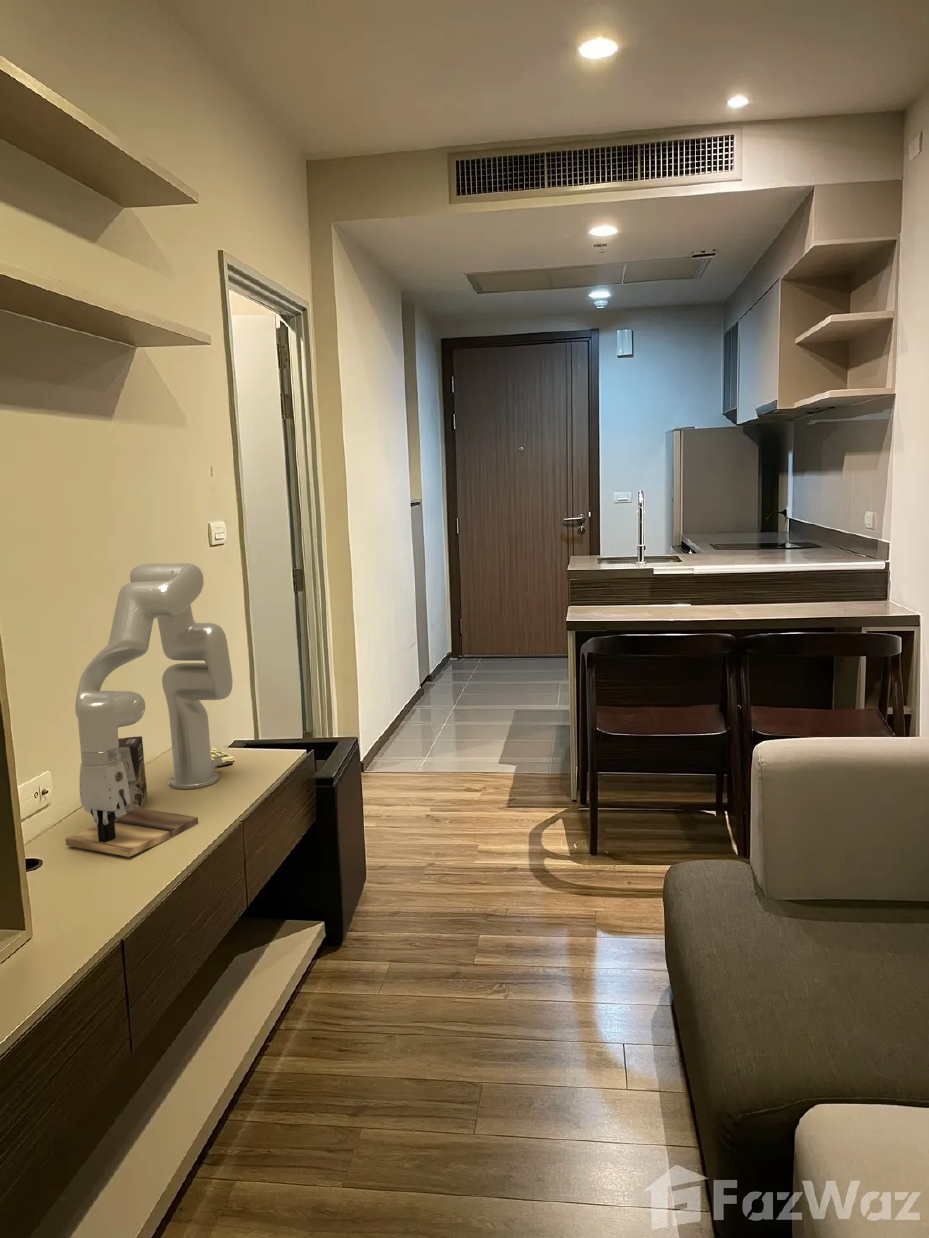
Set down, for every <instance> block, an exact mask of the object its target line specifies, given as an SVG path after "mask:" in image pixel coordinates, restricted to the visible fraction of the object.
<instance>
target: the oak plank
mask: <svg viewBox="0 0 929 1238" xmlns="http://www.w3.org/2000/svg"><path fill="white" fill-rule="evenodd" d="M115 835H116V837H115V839H113V840H110V841H108V842H105V843H104V842H99V841H98V828H97V825H96V826H93V827H90V828H88V829H86V830H83V831H81V832H78V833H76V834H73V835H69V836H67V837H65V839H64V840H65V846H69V847H73V848H78V849H85V850H89V851H95V852H102V853H106V854H111V855H117V856H122V857H123V856H124V857H128V858H130V857H132V856H134V855H137V854H138V853H141V852H144V851H146V850H147V849H150V848H152V847H154V846H156V845H158V844H161V843H163V842H165V841H168V840H170V839H171V837H170V832H169V831H163V830H157V829H151V828H145V827H138V826H132V825H126V824H120V823H115Z"/></svg>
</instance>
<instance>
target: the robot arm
mask: <svg viewBox="0 0 929 1238" xmlns="http://www.w3.org/2000/svg"><path fill="white" fill-rule="evenodd" d="M129 579H130V580H129V581H130V582H129V583H126V584H124V585H122V587H121V588H120V590H119V592H118V595H117V600H116V605H115V609H114V614H113V619H112V624H111V629H110V633H109V640H108V643H107V644H106V646H104V648H103V649H101V650H100V651H99V652H98V653H97V654H96V655H95V656H94V657H93V658H92V660H91V661H90V662H89V664H88V665H87V666H86V667H85V669H84V671H82V674H81V677H80V680H79V683H78V687H77V692H76V697H75V706H74V707H75V708H74V709H75V714H76V718H77V721H78V722H77V724H78V725H77V726H78V734H79V747H80V756H81V758H80V759H81V763H80V769H79V798H80V799H79V800H80V804H81V806H82V807H83V809H84V810H83V811H85V812H86V813H89V814H91V815H92V817H93V821H94V823H95V824H96V826H97V828H98V841H99V842H104V843H105V842H108V841H110V840H113V839H115V837H116V835H115V822H114V821H116V820H117V817H121V816H123V815H125V814H126V813H127V812H126V811H125V807H124V806H128V805H129V804H130V794H129V786H128V780H127V775H126V771H125V767H124V765H123V762H121V761H120V758H121V754H120V753H119V740H118V739H119V730H118V729H119V728H121V727H128V726H131V725H134V724H136V723H139V721H140V720H141V719H142V718H143V717H144V715H145V711H146V702H145V699H144V698H143V696H142V695H141V694H140V693H137V692H135V691H133V690H132V691H129V690H101V689H102V686H103V684H104V682H105V680H106V679H107V677H109V676H110V674H111V673H112V672H114V671H115V670H116V669H118V668H121V666H124V665H126V664H127V663H130V662H132V661H134V660H136V659H139V658H141V657H142V656H144V655H145V654H146V653H147V652H148V649H149V646H150V641H151V634H152V630H153V624H154V620H155V619H156V620H157V625H158V630H159V636H160V641H161V647H162V650H163V653H164V655H165V657H166V658H167V659H168V660H173V661H181V663H175V664H172V665H170V666H168V667H167V668H166V669H165V670H164V672H163V673H162V677H161V683H162V690H163V693H164V696H165V699H166V704H167V708H168V715H169V716H168V717H169V718H168V719H169V726H170V737H171V738H170V740H171V750H172V751H171V752H172V759H173V760H172V761H173V774H174V775H173V776H171V777H170V778H169V779H168V785H169V787H171V788H173V789H177V790H178V789H179V790H191V789H199V788H204V787H207V786H210V785H212V784H215V783H216V782H217V781H219V778H220V777H219V776H220V775H219V773H218V772H217V771H216V770H215V769H216V767H218V766H221V765H223V763H224V760H223V758H222V757H217V758H215V759H212V752H211V750H212V749H211V740H210V726H209V716H208V715H209V714H208V711H207V710H206V707H205V706H204V704H203V703H202V702H201V701H220V700H224V699H227V698H228V697H229V696H230V695H231V692H232V690H233V674H232V673H233V672H232V665H231V659H230V653H229V651H230V650H229V645H228V640H227V636H226V633H225V631H224V629H223V628H222V626H220V625H219V624H216V623H212V622H196V621H195V619H194V616H193V610H192V604H193V602H195V600H196V599H198V597H199V596H200V594H201V593H202V591H203V587H204V584H205V583H204V579H205V578H204V574H203V572H202V570H201V568H200V567H198V566H197V565H196V564H194V563H185V562H184V563H180V562H179V563H148V564H146V563H145V564H140V565H137V566H135V567H133V568H132V569H131V571H130V574H129ZM182 661H189V662H182ZM190 661H199V662H190ZM200 661H204V662H200Z"/></svg>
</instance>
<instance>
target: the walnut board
mask: <svg viewBox="0 0 929 1238" xmlns="http://www.w3.org/2000/svg"><path fill="white" fill-rule="evenodd" d="M114 822H115V823H120V824H126V825H132V826H138V827H145V828H151V829H157V830H163V831H169V832H170V838H173V837H175V836H177V835H179V834H181V833H183V832H185V831H186V829H187V830H189V829H191V828H193V827H194V826H196V825H197V824H198V825H199V817H198V816H192V815H186V814H179V813H173V812H167V811H161V810H155V809H154V810H153V809H147V808H143V807H142V808H136V809H134V810H132V811H127V812H126V814H125V815H123V816H121V817H117V820H116V821H114ZM195 824H196V825H195ZM193 825H194V826H193ZM184 830H185V831H184Z"/></svg>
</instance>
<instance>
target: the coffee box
mask: <svg viewBox="0 0 929 1238" xmlns="http://www.w3.org/2000/svg"><path fill="white" fill-rule="evenodd" d="M118 740H119V753H120V754H121V758H120V761H121V762H123V765H124V767H125V771H126V775H127V780H128V786H129V794H130V804H129V805H128V806H124V807H125V811H126V813H128V812H130V811H132V810H134V809H136V808H142V809H143V807H144V805H145V803H146V802H147V800H148V787H147V777H146V776H147V775H146V774H147V773H146V764H145V754H144V743H143V736H131V737H122V738H119V737H118Z"/></svg>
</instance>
